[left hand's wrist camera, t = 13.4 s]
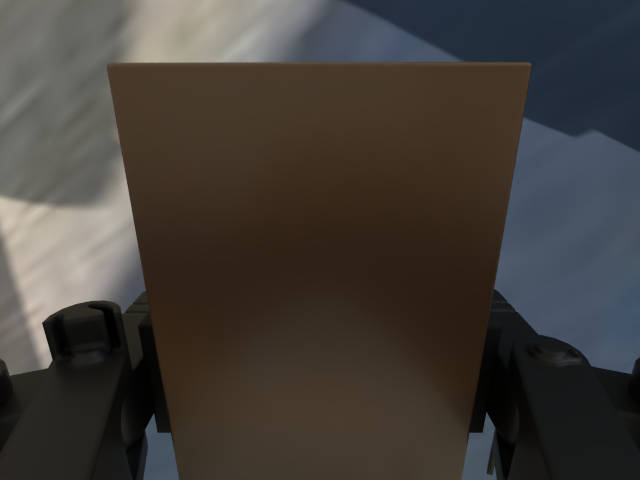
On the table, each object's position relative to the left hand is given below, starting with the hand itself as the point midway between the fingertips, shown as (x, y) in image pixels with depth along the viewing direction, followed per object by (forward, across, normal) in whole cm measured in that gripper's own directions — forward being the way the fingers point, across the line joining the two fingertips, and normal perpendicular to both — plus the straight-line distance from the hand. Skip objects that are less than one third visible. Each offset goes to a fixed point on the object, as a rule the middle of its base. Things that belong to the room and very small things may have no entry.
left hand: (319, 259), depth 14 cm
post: (0, 0, -22) cm, 22 cm away
